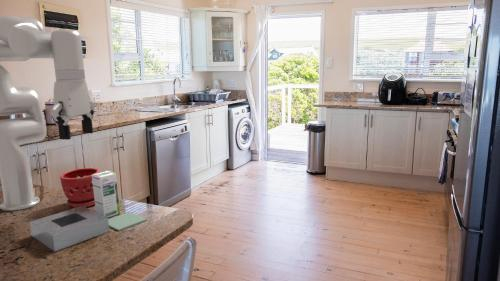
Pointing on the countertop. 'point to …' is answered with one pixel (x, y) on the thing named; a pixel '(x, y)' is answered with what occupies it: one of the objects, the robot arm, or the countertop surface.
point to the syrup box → (106, 193)
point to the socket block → (69, 227)
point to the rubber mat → (125, 221)
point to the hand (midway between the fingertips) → (77, 135)
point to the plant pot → (79, 187)
